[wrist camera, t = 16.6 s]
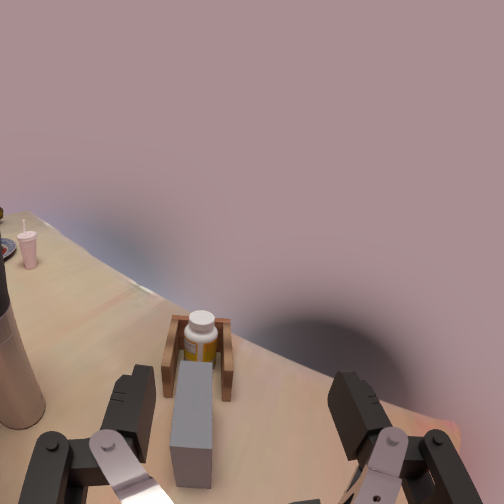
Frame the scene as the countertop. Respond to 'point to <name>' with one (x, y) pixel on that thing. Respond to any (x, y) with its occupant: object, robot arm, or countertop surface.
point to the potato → (1, 213)
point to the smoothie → (28, 247)
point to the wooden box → (177, 342)
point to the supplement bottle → (200, 338)
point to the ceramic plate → (7, 246)
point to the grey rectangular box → (192, 426)
